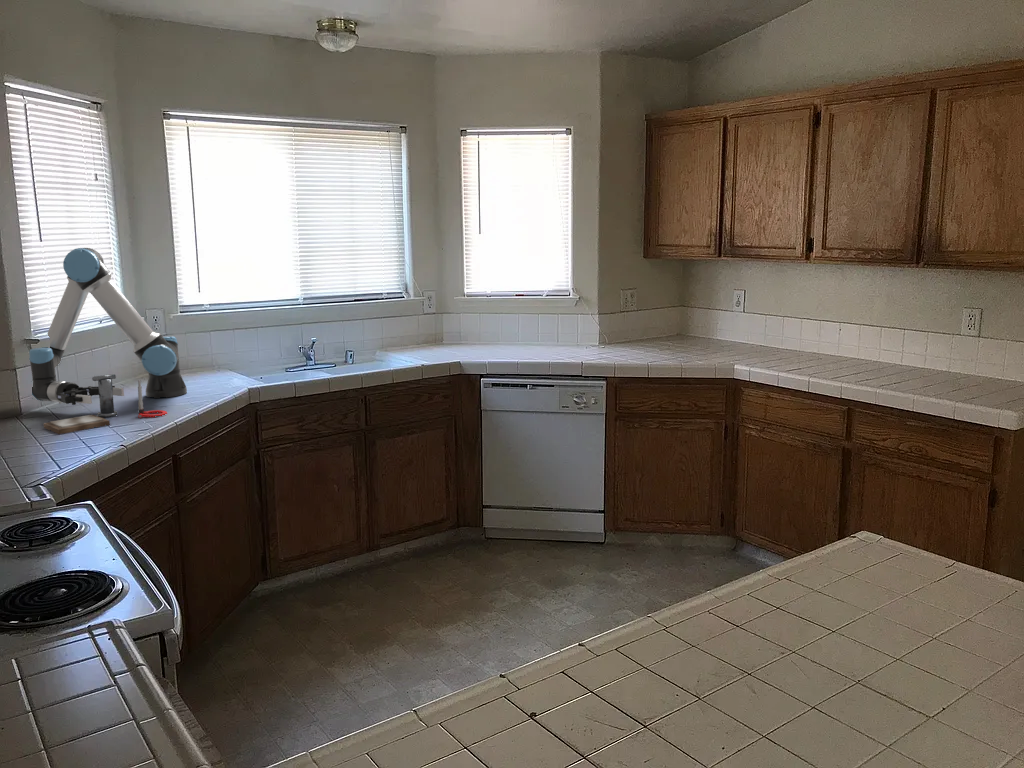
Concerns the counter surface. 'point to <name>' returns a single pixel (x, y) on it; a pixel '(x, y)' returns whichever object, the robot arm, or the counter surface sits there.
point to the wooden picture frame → (76, 424)
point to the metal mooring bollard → (105, 395)
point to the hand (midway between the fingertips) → (107, 395)
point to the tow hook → (140, 404)
